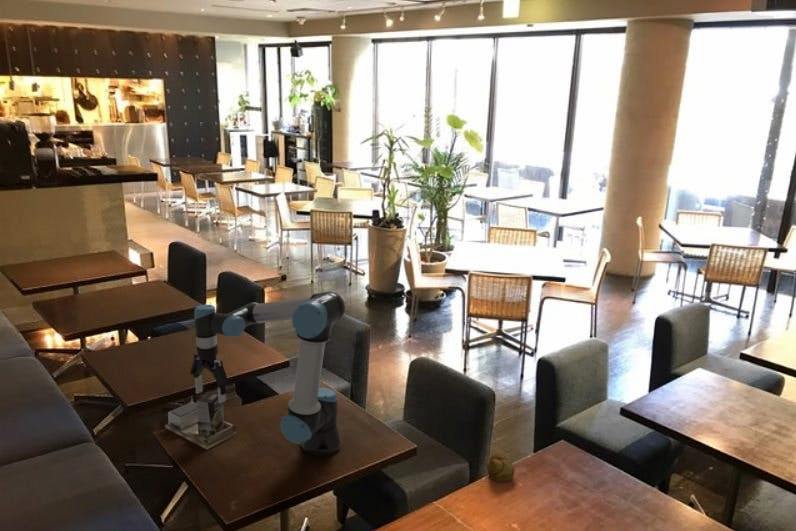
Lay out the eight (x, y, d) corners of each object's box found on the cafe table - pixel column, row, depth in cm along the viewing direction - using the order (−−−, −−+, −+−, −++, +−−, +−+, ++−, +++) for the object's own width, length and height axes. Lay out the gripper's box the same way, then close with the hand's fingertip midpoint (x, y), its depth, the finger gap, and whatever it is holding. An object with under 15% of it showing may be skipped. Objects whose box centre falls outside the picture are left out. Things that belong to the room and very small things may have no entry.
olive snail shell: (486, 462, 229) (488, 443, 227) (513, 465, 227) (514, 446, 225) (485, 482, 216) (487, 462, 214) (513, 486, 215) (515, 465, 213)
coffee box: (212, 441, 235) (210, 403, 231) (197, 438, 236) (195, 400, 232) (225, 429, 243) (223, 392, 239) (210, 427, 245) (208, 390, 241)
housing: (205, 418, 251) (204, 406, 249) (180, 429, 241) (180, 417, 240) (192, 412, 255) (192, 400, 254) (168, 423, 246) (167, 411, 245)
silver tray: (236, 434, 242) (235, 426, 241) (206, 449, 231) (206, 440, 230) (194, 414, 257) (194, 406, 256) (165, 427, 246) (164, 419, 245)
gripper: (236, 349, 226) (239, 402, 232) (194, 335, 240) (198, 385, 246) (220, 356, 220) (224, 409, 226) (178, 341, 234) (182, 391, 240)
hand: (210, 397), depth 236 cm, fingers open, 13 cm apart
